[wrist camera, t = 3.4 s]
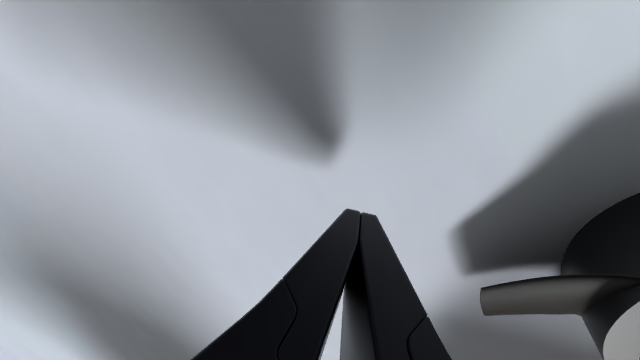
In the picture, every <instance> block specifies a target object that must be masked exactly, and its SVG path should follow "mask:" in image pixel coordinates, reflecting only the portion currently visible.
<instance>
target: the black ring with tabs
mask: <svg viewBox="0 0 640 360" xmlns="http://www.w3.org/2000/svg"><path fill="white" fill-rule="evenodd" d="M561 271H562V275H559V276H549V277H540V278H532V279H526V280H519V281H514V282H508V283H503V284H498V285H493V286H488V287H484V288H481V292H480V302H481V307H482V311H483V314H484V316H494V315H520V314H577V315H580V316H581V317H582V319H583V321H584V322H585V324H586V326H587V328H588V330H589V332H590V334H591V336H592V338H593V340H594V342H595V344H596V346H597V348H598V350H599V352H600V354H601V355H602V357H603V359H604V360H640V193H638V194H636V195H633V196H631V197H629V198H627V199H624V200H622V201H620V202H618V203H617V204H615V205H613V206H611V207H609V208H608V209H606V210H605V211H603V212H602V213H600V214H599V215H597V216H596V217H595V218H593V219H592V220H591V221H589V222H588V223H587V224H586V225H585V226H584V227H583V228H582V229H581V230H580V231H579V232H578V233H577V234H576V235H575V237H574V238H573V239H572V241H571V242H570V244H569V245H568V247H567V249H566V251H565V254H564V256H563V260H562V267H561Z"/></svg>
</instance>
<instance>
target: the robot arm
mask: <svg viewBox="0 0 640 360" xmlns="http://www.w3.org/2000/svg"><path fill="white" fill-rule="evenodd" d="M344 286H345V287H344ZM343 289H344V296H343V312H342V329H341V346H340V360H452V359H451V358H450V356H449V354H448V353H447V351H446V349H445V347H444V345H443V344H442V342H441V340H440V338H439V336H438V334H437V333H436V331H435V329H434V327H433V325H432V323H431V321H430V319H429V317H427V313H426V311H425V310H424V308H423V306H422V304H421V302H420V300H419V298H418V296H417V294H416V292H415V290H414V288H413V286H412V284H411V282H410V280H409V278H408V276H407V274H406V272H405V271H404V269H403V267H402V265H401V263H400V261H399V259H398V257H397V255H396V253H395V251H394V249H393V247H392V245H391V243H390V241H389V239H388V237H387V235H386V234H385V232H384V230H383V228H382V226H381V224H380V222H379V220H378V218H377V216H376V215H373V214H368V213H364V212H363V213H360V212H359V211H356V210H352V209H346V210H344V211H343V213H342V214H341V215H340V216H339V217H338V218H337V219H336V220H335V221H334V222H333V223H332V225H331V226H330V227H329V228H328V229H327V230H326V231H325V232H324V233H323V234H322V235H321V237H320V238H319V239H318V240H317V241H316V242H315V243H314V244H313V245H312V246H311V247H310V249H309V250H308V251H307V252H306V253H305V254H304V255H303V256H302V257H301V258H300V259H299V260H298V262H297V263H296V264H295V265H294V266H293V267H292V268H291V269H290V270H289V271H288V272H287V274H286V275H285V276H284V277H283V279H281V280H280V281H279V282H278V283H277V284H276V285H275V286H274V287H273V289H272V290H271V291H270V292H269V293H268V294H267V295H266V296H265V297H264V298H263V299H262V300H261V301H260V302H259V303H258V304H257V305H255V306H254V307H253V308H252V309H251V310H250V311H249V312H247V313H246V314H245V315H244V316H243V317H242V318H241V319H239V320H238V321H237V322H236V323H235V324H233V325H232V326H231V327H230V328H229V329H227V330H226V331H225V332H224V333H223V334H221V335H220V336H219V337H218V338H217V339H215V340H214V341H213V342H212V343H210V344H209V345H208V346H207V347H206V348H204V349H203V350H202V351H201V352H200V353H198V354H197V355H196V356H195V357H193V358H192V359H191V360H320V359H321V356H322V353H323V350H324V347H325V344H326V341H327V338H328V335H329V332H330V329H331V326H332V323H333V320H334V317H335V314H336V311H337V308H338V305H339V302H340V299H341V296H342V293H343Z"/></svg>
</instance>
